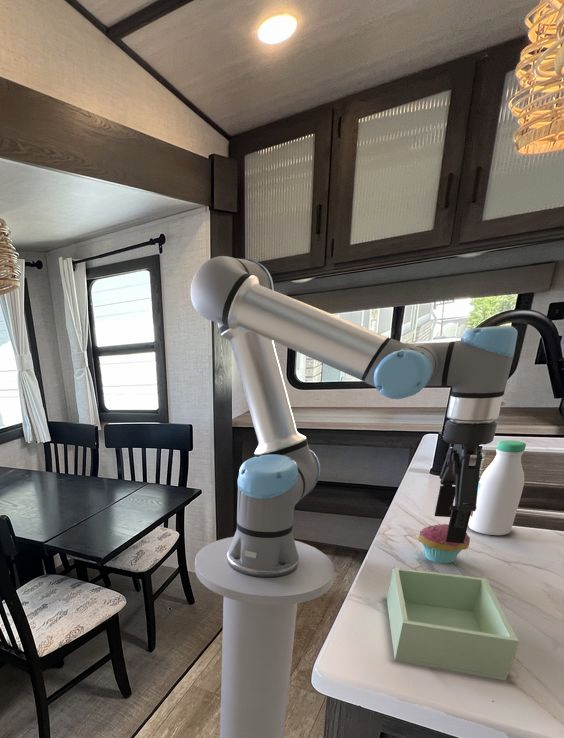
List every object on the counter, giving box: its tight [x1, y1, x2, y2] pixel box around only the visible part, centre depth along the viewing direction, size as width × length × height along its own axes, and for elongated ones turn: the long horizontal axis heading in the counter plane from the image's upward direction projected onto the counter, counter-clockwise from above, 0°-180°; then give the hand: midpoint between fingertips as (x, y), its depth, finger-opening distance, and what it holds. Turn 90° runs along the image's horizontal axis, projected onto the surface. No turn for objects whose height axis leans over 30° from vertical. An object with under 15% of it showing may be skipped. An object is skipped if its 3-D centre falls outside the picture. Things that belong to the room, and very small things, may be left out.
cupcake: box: [417, 523, 471, 564], centre depth 93 cm, size 9×8×12 cm
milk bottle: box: [468, 440, 527, 536], centre depth 102 cm, size 8×8×20 cm
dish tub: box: [386, 567, 520, 682], centre depth 72 cm, size 18×13×7 cm
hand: (447, 528), depth 92 cm, fingers open, 13 cm apart
